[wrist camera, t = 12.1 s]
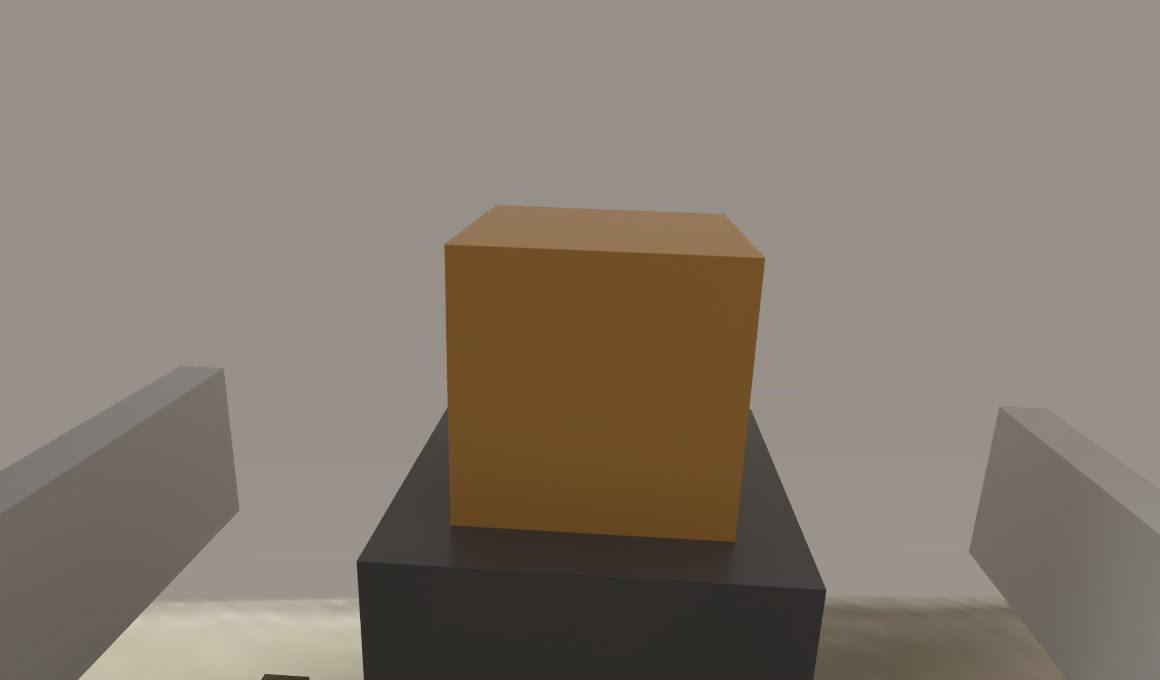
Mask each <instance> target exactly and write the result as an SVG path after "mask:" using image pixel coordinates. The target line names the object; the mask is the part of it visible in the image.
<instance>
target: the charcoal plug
mask: <svg viewBox="0 0 1160 680" xmlns="http://www.w3.org/2000/svg"><path fill="white" fill-rule="evenodd" d="M764 263H765V257H764V256H763V255H762V254H761V253H760V252H759V251H758V250H757V249H756V248H755V247H754V246H753V245H752V243H751V242H750V241H749V240H748V239H747V238H746V237H745V236H744V235H743V234H742V233H741V232H740V231H739V230H738V228H737V227H736V226H735V225H734V224H733V223H732V222H731V221H730V220H729V219H728V218H727V217H726V216H725V215H724V214H701V213H700V214H699V213H675V212H650V211H624V210H600V209H599V210H598V209H574V208H549V207H524V206H499V205H496V206H494V207H493V208H492V209H491V210H489V211H488V212H487V213H485V214H484V215H483V216H481V217H480V218H479V219H477V220H476V221H475V222H473V223H472V224H471V225H469V226H468V227H467V228H465V229H464V230H463V231H462V232H460V233H459V234H458V235H456V236H455V237H454V238H452V239H451V240H450V241H448V242H447V243H446V244H445V291H446V292H445V293H446V335H447V336H446V342H447V389H448V390H447V392H448V408H447V409H446V411H445V413H444V414H443V416H442V418H441V420H440V421H439V423H438V424H437V426H436V428H435V430H434V431H433V433H432V435H431V436H430V438H429V440H428V441H427V443H426V445H425V447H424V448H423V450H422V452H421V453H420V455H419V457H418V458H417V460H416V462H415V463H414V465H413V467H412V469H411V470H410V472H409V474H408V475H407V477H406V479H405V480H404V482H403V484H402V486H401V487H400V489H399V491H398V492H397V494H396V496H395V497H394V499H393V501H392V503H391V504H390V506H389V508H388V509H387V511H386V513H385V514H384V516H383V518H382V520H381V521H380V523H379V525H378V526H377V528H376V530H375V531H374V533H373V535H372V536H371V538H370V540H369V541H368V543H367V545H366V547H365V548H364V550H363V552H362V553H361V555H360V557H359V558H358V560H357V574H358V588H359V606H360V622H361V638H362V654H363V670H364V680H813V676H814V669H815V663H816V656H817V649H818V642H819V636H820V629H821V622H822V615H823V609H824V602H825V595H826V588H825V586H824V583H823V581H822V579H821V576H820V574H819V571H818V569H817V567H816V564H815V562H814V559H813V557H812V555H811V552H810V550H809V547H808V545H807V543H806V541H805V538H804V535H803V533H802V531H801V528H800V526H799V524H798V521H797V519H796V516H795V514H794V512H793V509H792V507H791V504H790V502H789V500H788V497H787V495H786V493H785V490H784V488H783V485H782V483H781V480H780V478H779V476H778V473H777V471H776V468H775V466H774V464H773V461H772V459H771V457H770V454H769V452H768V449H767V447H766V445H765V442H764V440H763V438H762V435H761V433H760V430H759V428H758V426H757V423H756V421H755V418H754V416H753V413H752V411H751V409H749V406H750V395H751V387H752V377H753V367H754V358H755V348H756V339H757V329H758V320H759V311H760V301H761V291H762V282H763V272H764Z"/></svg>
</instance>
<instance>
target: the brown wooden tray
mask: <svg viewBox="0 0 1160 680" xmlns="http://www.w3.org/2000/svg"><path fill="white" fill-rule="evenodd" d="M261 680H309V677H301V676H286V675H271V674H265V675H264V676H263V678H262V679H261Z"/></svg>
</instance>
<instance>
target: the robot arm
mask: <svg viewBox="0 0 1160 680" xmlns="http://www.w3.org/2000/svg"><path fill="white" fill-rule="evenodd" d="M238 511H239V502H238V494H237V484H236V475H235V466H234V457H233V448H232V440H231V430H230V422H229V412H228V403H227V394H226V385H225V377H224V369H223V368H207V367H187V366H180V367H178V368H177V369H175V370H173V371H171V372H170V373H168V374H166V375H164V376H163V377H161V378H159V379H158V380H156V381H154V382H152V383H151V384H149V385H147V386H146V387H144V388H142V389H140V390H139V391H137V392H135V393H134V394H132V395H130V396H128V397H127V398H125V399H123V400H122V401H120V402H118V403H116V404H115V405H113V406H111V407H110V408H108V409H106V410H104V411H103V412H101V413H99V414H98V415H96V416H94V417H93V418H91V419H89V420H87V421H86V422H84V423H82V424H81V425H79V426H77V427H75V428H74V429H72V430H70V431H69V432H67V433H65V434H64V435H62V436H60V437H58V438H57V439H55V440H53V441H51V442H50V443H48V444H46V445H45V446H43V447H41V448H40V449H38V450H36V451H34V452H33V453H31V454H30V455H28V456H26V457H24V458H22V459H21V460H19V461H17V462H16V463H14V464H12V465H11V466H9V467H7V468H5V469H4V470H2V471H0V680H78V679H79V678H80V677H81V676H82V675H83V674H84V673H85V672H86V671H87V670H88V669H89V668H90V667H91V665H92V664H93V663H94V662H95V661H96V660H97V659H98V658H99V657H100V656H101V655H102V654H103V653H104V652H105V651H106V650H107V649H108V648H109V647H110V646H111V644H112V643H113V642H114V641H115V640H116V639H117V638H118V637H119V636H120V635H121V634H122V633H123V632H124V631H125V630H126V629H127V628H128V627H129V626H130V625H131V623H132V622H133V621H134V620H135V619H136V618H137V617H138V616H139V615H140V614H141V613H142V612H143V611H144V610H145V609H146V608H147V607H148V606H149V605H150V604H151V602H152V601H153V600H154V599H155V598H156V597H157V596H158V595H159V594H160V593H161V592H162V591H163V590H164V589H165V588H166V587H167V586H168V585H169V584H170V582H172V580H173V579H174V578H175V577H176V576H177V575H178V574H179V573H180V572H181V571H182V570H183V569H184V568H185V567H186V566H187V565H188V564H189V563H190V562H191V560H192V559H193V558H194V557H195V556H196V555H197V554H198V553H199V552H200V551H201V550H202V549H203V548H204V547H205V546H206V545H207V544H208V543H209V542H210V541H211V540H212V538H213V537H214V536H215V535H216V534H217V533H218V532H219V531H220V530H221V529H222V528H223V527H224V526H225V525H226V524H227V523H228V522H229V521H230V520H231V518H232V517H233V516H234V515H235V514H236V513H237V512H238ZM969 553H970V554H971V555H972V557H973V558H974V559H975V560H976V561H977V563H978V564H979V565H980V567H981V568H982V569H983V571H984V572H985V573H986V574H987V576H988V577H989V578H990V580H991V581H992V582H993V584H994V585H995V586H996V588H997V589H998V590H999V591H1000V592H1001V594H1002V595H1003V597H1004V598H1005V599H1006V600H1007V602H1008V603H1009V604H1010V606H1011V607H1012V608H1013V609H1014V611H1015V612H1016V613H1017V615H1018V616H1019V617H1020V618H1021V620H1022V621H1023V622H1024V624H1025V625H1026V626H1027V627H1028V629H1029V630H1030V631H1031V633H1032V634H1033V635H1034V636H1035V638H1036V639H1037V640H1038V642H1039V643H1040V644H1041V645H1042V647H1043V648H1044V649H1045V651H1046V652H1047V653H1048V654H1049V656H1050V657H1051V658H1052V660H1053V661H1054V662H1055V663H1056V665H1057V666H1058V667H1059V669H1060V670H1061V671H1062V672H1063V674H1064V675H1065V676H1066V678H1067V679H1068V680H1160V489H1158V488H1157V487H1156V486H1154V485H1153V484H1151V483H1150V482H1149V481H1147V480H1146V479H1144V478H1143V477H1142V476H1140V475H1139V474H1137V473H1136V472H1134V471H1133V470H1132V469H1130V468H1129V467H1128V466H1126V465H1125V464H1123V463H1122V462H1120V461H1119V460H1117V459H1116V458H1115V457H1113V456H1112V455H1111V454H1109V453H1108V452H1106V451H1105V450H1104V449H1102V448H1101V447H1099V446H1098V445H1097V444H1095V443H1094V442H1092V441H1091V440H1090V439H1088V438H1087V437H1085V436H1084V435H1083V434H1081V433H1080V432H1078V431H1077V430H1076V429H1074V428H1073V427H1071V426H1070V425H1069V424H1067V423H1066V422H1064V421H1063V420H1062V419H1060V418H1059V417H1057V416H1056V415H1055V414H1053V413H1052V412H1050V411H1049V410H1048V409H1037V408H1017V407H999V411H998V416H997V421H996V426H995V430H994V435H993V440H992V445H991V449H990V455H989V459H988V464H987V469H986V474H985V479H984V483H983V488H982V493H981V497H980V502H979V507H978V512H977V517H976V521H975V526H974V531H973V536H972V541H971V545H970V550H969Z"/></svg>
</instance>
